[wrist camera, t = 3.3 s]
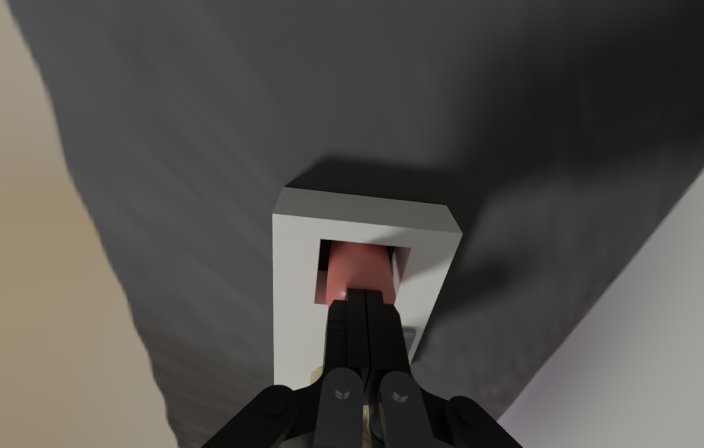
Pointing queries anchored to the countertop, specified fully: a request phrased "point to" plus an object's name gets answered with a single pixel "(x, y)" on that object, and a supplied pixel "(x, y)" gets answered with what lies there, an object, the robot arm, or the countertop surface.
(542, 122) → the countertop surface
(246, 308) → the countertop surface
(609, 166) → the countertop surface
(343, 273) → the button
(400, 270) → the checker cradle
